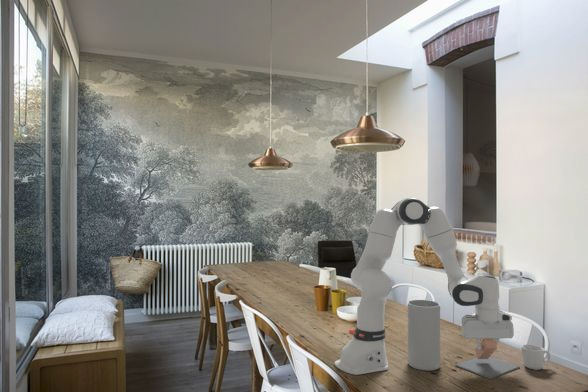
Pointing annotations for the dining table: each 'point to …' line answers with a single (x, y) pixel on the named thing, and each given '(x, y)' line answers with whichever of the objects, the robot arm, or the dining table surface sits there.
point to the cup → (534, 356)
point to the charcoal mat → (487, 367)
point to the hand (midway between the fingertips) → (487, 349)
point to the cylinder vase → (424, 334)
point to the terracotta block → (486, 349)
